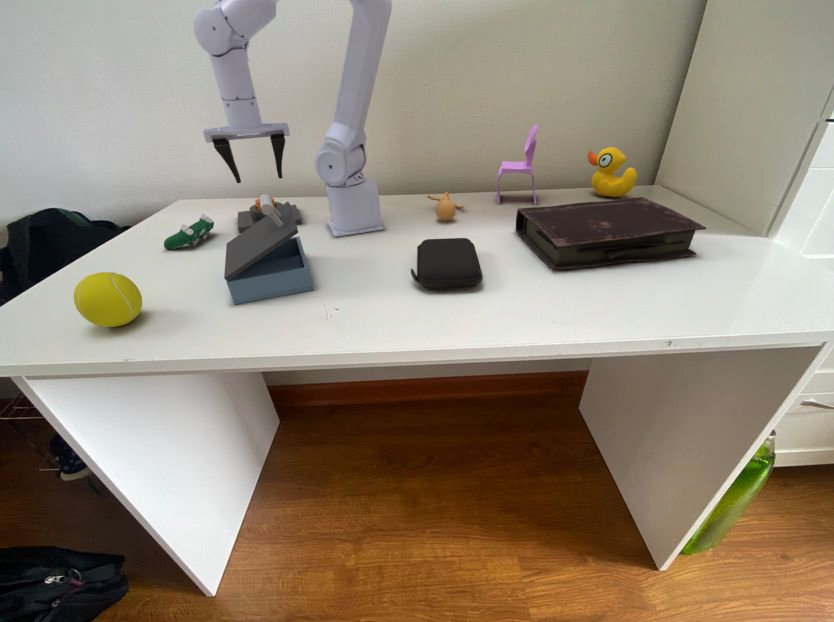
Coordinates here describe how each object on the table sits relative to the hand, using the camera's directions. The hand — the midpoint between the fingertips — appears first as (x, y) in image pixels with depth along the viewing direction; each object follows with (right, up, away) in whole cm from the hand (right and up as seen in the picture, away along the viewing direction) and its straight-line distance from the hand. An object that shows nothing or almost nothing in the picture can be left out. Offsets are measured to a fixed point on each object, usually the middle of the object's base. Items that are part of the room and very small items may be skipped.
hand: (259, 179), depth 81 cm
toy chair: (+52, +1, +13) cm, 54 cm away
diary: (+63, -15, -7) cm, 65 cm away
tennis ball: (-9, -30, -24) cm, 39 cm away
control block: (0, -6, +6) cm, 9 cm away
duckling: (+73, +2, +14) cm, 75 cm away
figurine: (+36, -8, +2) cm, 37 cm away
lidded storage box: (+8, -22, -15) cm, 28 cm away
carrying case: (+36, -21, -14) cm, 44 cm away
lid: (+8, -17, -19) cm, 27 cm away
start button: (0, -4, +4) cm, 6 cm away
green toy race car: (-11, -13, -2) cm, 17 cm away
